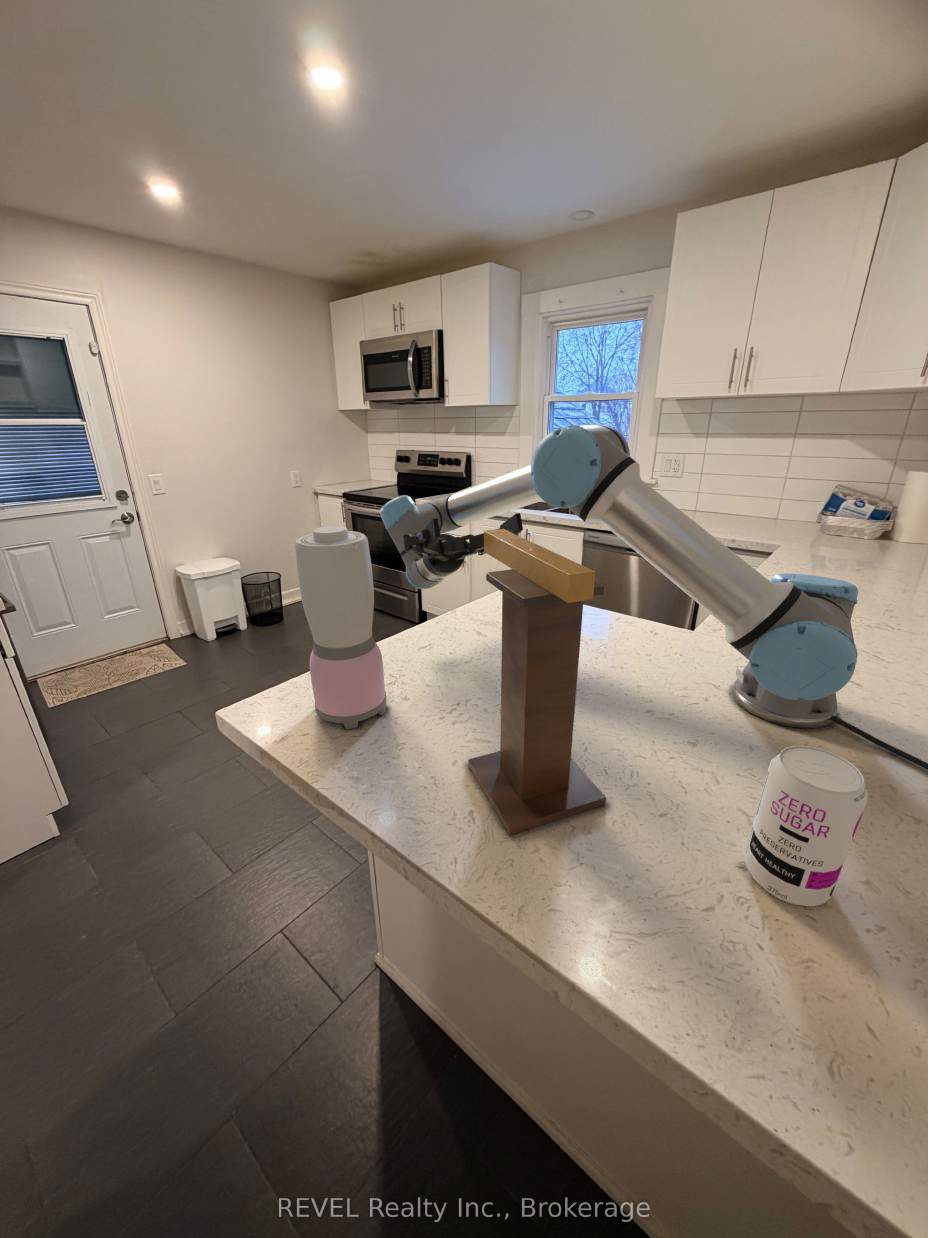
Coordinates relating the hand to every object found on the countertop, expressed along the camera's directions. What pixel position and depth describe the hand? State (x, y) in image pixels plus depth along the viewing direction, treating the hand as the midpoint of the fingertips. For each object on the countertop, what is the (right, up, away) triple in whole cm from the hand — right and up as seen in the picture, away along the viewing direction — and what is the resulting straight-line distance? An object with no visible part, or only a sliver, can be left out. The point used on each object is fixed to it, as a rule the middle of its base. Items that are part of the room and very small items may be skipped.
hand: (479, 524), depth 75 cm
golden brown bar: (+6, -9, -15) cm, 18 cm away
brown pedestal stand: (+7, -37, -6) cm, 39 cm away
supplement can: (+33, -43, -20) cm, 58 cm away
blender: (-23, -30, +14) cm, 40 cm away
